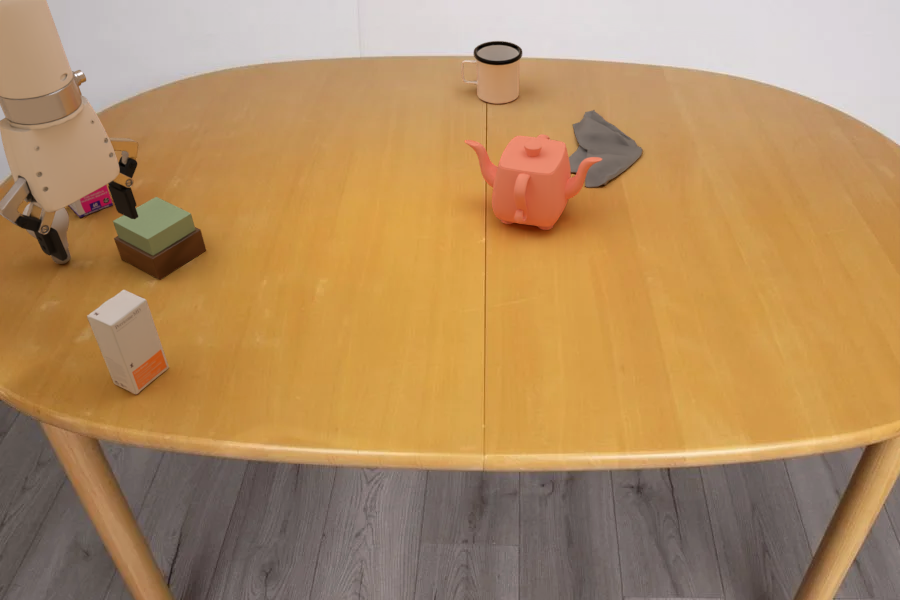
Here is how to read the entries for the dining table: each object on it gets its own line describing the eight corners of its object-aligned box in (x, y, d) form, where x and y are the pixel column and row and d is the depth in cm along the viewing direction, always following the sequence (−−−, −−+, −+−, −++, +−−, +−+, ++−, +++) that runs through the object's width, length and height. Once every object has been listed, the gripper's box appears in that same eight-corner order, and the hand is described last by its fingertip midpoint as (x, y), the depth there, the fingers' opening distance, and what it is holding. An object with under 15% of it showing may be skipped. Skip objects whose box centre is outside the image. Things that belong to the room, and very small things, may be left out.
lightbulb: (78, 245, 136) (54, 185, 129) (90, 265, 133) (66, 204, 125) (37, 259, 134) (10, 199, 126) (49, 280, 130) (21, 218, 123)
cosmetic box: (137, 396, 112) (109, 326, 104) (113, 384, 114) (84, 315, 106) (171, 367, 116) (147, 298, 108) (148, 356, 118) (122, 287, 110)
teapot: (597, 222, 141) (603, 154, 132) (505, 250, 135) (506, 180, 127) (552, 178, 151) (555, 111, 142) (465, 202, 145) (463, 134, 137)
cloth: (634, 193, 147) (636, 181, 146) (554, 183, 150) (554, 172, 148) (648, 119, 166) (649, 108, 165) (576, 112, 168) (577, 101, 167)
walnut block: (159, 280, 130) (152, 258, 127) (121, 259, 134) (113, 238, 131) (206, 250, 135) (200, 229, 133) (168, 231, 139) (161, 210, 137)
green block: (153, 255, 128) (147, 239, 126) (118, 237, 131) (112, 221, 129) (195, 229, 133) (191, 213, 131) (161, 212, 136) (156, 196, 134)
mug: (525, 85, 176) (525, 42, 170) (518, 107, 170) (518, 63, 164) (466, 81, 178) (465, 38, 172) (457, 103, 171) (455, 59, 165)
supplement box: (80, 219, 142) (56, 157, 134) (66, 204, 145) (41, 143, 137) (115, 205, 145) (93, 144, 137) (99, 191, 148) (77, 130, 140)
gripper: (89, 59, 97) (134, 191, 108) (-60, 124, 86) (7, 261, 98) (133, 76, 94) (174, 209, 105) (-16, 145, 83) (48, 285, 95)
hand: (94, 234), depth 102 cm, fingers open, 9 cm apart
